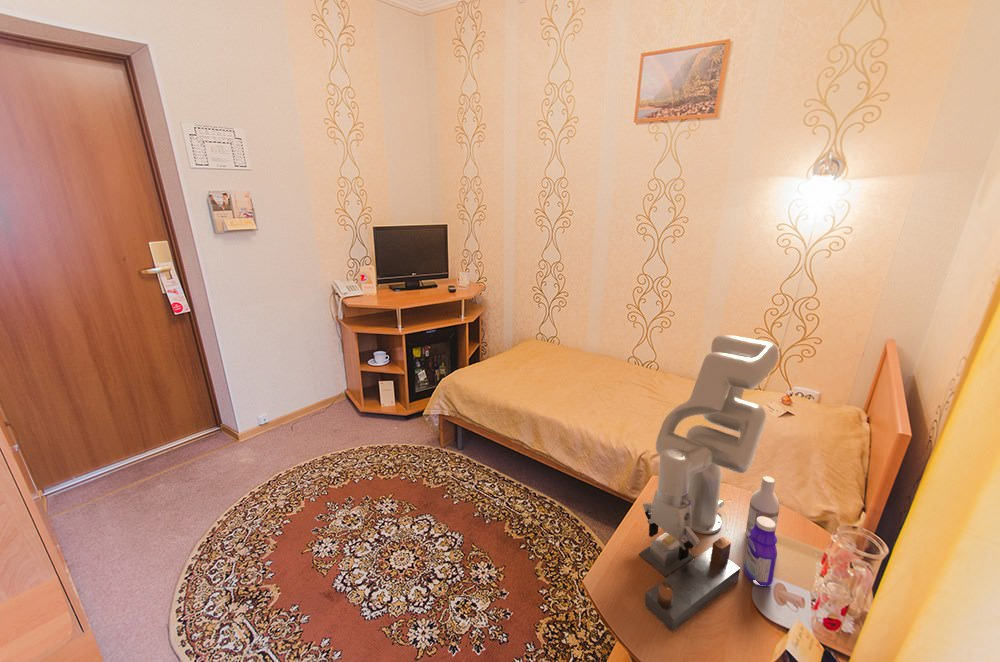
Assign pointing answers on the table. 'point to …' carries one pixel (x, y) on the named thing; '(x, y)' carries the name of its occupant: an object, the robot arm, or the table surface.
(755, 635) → the table surface
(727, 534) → the table surface
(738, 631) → the table surface
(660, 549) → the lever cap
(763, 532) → the bottle
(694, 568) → the body
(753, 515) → the bath foam
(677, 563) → the rubber mat
